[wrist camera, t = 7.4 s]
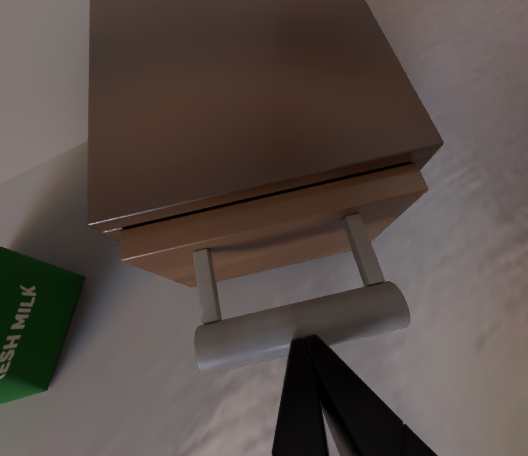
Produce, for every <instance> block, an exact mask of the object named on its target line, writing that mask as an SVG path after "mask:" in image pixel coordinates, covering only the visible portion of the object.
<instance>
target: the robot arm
mask: <svg viewBox="0 0 528 456" xmlns="http://www.w3.org/2000/svg"><path fill="white" fill-rule="evenodd" d="M321 407H322V408H321ZM322 410H323V413H324V416H325V419H326V421H327V424H328V427H329V429H330V432H331V434H332V437H333V439H334V442H335V444H336V447H337V449H338V452H339V454H340V456H438V455H437V454H436V453H435V452H434V451H432V450H431V449H430V448H429V447H428V446H427V445H426V444H425V443H424V442H423V441H422V440H421V439H420V438H419V437H418V436H417V435H416V434H415V433H414V432H413V431H412V430H411V429H410V428H409V427H408V426H407V425H406V424H403V421H402V420H401V419H400V418H399V417H398V416H397V415H396V414H395V413H394V412H393V411H392V410H391V409H390V408H389V407H388V406H387V405H386V404H385V403H384V402H383V401H382V400H381V399H380V398H379V397H378V396H377V395H376V394H375V393H374V392H373V391H372V390H371V389H370V388H369V387H368V386H367V385H366V384H365V383H364V382H363V381H362V380H361V379H360V378H359V377H358V376H357V375H356V374H355V373H354V372H353V371H352V370H351V369H350V368H349V367H348V366H347V365H346V364H345V362H344V361H343V360H342V359H341V358H340V357H339V356H338V355H337V354H336V353H335V352H334V351H333V350H332V349H331V348H330V347H329V346H328V345H327V344H326V343H325V342H324V341H323V340H322V339H321V338H320V337H319V336H318V335H316V334H312V335H308V336H305V337H304V338H303V337H300V338H295V339H292V340H291V343H290V349H289V354H288V360H287V366H286V372H285V378H284V384H283V389H282V395H281V401H280V407H279V413H278V419H277V425H276V430H275V436H274V442H273V448H272V456H330V455H329V448H328V442H327V436H326V430H325V424H324V419H323V413H322Z"/></svg>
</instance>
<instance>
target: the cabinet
mask: <svg viewBox="0 0 528 456" xmlns="http://www.w3.org/2000/svg"><path fill="white" fill-rule="evenodd" d="M88 104H89V105H88V177H87V225H88V226H90V227H92V228H94V229H96V230H98V231H100V232H102V233H103V234H105V235H107V236H109V237H112V238H114V239H116V240H118V241H120V231H121V230H125V229H129V228H134V227H138V226H142V225H147V224H151V223H155V222H160V221H164V219H163V218H164V217H169V216H173V215H177V214H182V213H186V212H191V211H195V210H199V209H204V208H208V207H212V206H217V205H221V204H225V203H230V202H234V201H238V200H243V199H247V198H252V197H256V196H260V195H265V194H269V193H273V192H278V191H282V190H286V189H291V188H295V187H300V186H304V185H308V184H313V183H317V182H321V181H326V180H330V179H334V178H339V177H343V176H347V175H352V174H356V173H361V172H365V171H366V172H365V174H369V173H373V172H378V171H382V170H386V169H391V168H395V167H400V166H404V165H408V164H413V163H416V164H417V166H418V168H419V170H421V169H422V168H423V166H424V165H425V164H426V163H427V162H428V161H429V160H430V159H431V158H432V156H433V155H434V154H435V153H436V152H437V151H438V149H439V148H440V147H441V146H442V145H443V144H444V142H443V140H442V138H441V136H440V135H439V133H438V131H437V129H436V127H435V126H434V124H433V122H432V120H431V118H430V117H429V115H428V113H427V111H426V109H425V108H424V106H423V104H422V102H421V100H420V99H419V97H418V95H417V93H416V91H415V89H414V88H413V86H412V84H411V82H410V80H409V79H408V77H407V75H406V73H405V71H404V70H403V68H402V66H401V64H400V62H399V61H398V59H397V57H396V55H395V53H394V52H393V50H392V48H391V46H390V44H389V43H388V41H387V39H386V37H385V35H384V34H383V32H382V30H381V28H380V26H379V25H378V23H377V21H376V19H375V17H374V16H373V14H372V12H371V10H370V8H369V7H368V5H367V3H366V1H365V0H90V29H89V103H88ZM365 174H364V175H365Z"/></svg>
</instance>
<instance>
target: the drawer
mask: <svg viewBox="0 0 528 456" xmlns="http://www.w3.org/2000/svg"><path fill="white" fill-rule="evenodd" d="M365 172H366V171H365ZM365 172H361V173H356V174H352V175H347V176H343V177H339V178H334V179H330V180H326V181H321V182H317V183H313V184H308V185H304V186H300V187H295V188H291V189H286V190H282V191H278V192H273V193H269V194H265V195H260V196H256V197H252V198H247V199H243V200H238V201H234V202H230V203H225V204H221V205H217V206H212V207H208V208H204V209H199V210H195V211H191V212H186V213H182V214H177V215H173V216H169V217H164V218H163V219H164V221H160V222H155V223H151V224H147V225H142V226H138V227H134V228H129V229H125V230H121V231H120V259H121V261H123V262H125V263H128V264H131V265H133V266H136V267H139V268H141V269H144V270H147V271H149V272H152V273H155V274H157V275H160V276H162V277H165V278H168V279H170V280H173V281H176V282H178V283H181V284H184V285H186V286H189V287H196V286H197V288H198V295H199V303H200V311H201V318H202V323H203V324H204V325H200V326H198V327H197V329H196V332H195V342H194V344H195V355H196V360H197V364H198V367H199V370H200V372H201V373H202V374H203V375H209V374H213V373H217V372H221V371H225V370H230V369H234V368H238V367H242V366H247V365H251V364H255V363H259V362H263V361H268V360H272V359H276V358H280V357H284V356H288V354H289V349H290V343H291V340H292V339H295V338H300V337H303V338H304V337H305V336H308V335H312V334H316V335H318V336H319V337H320V338H321V339H322V340H323V341H324V342H325V343H326V344H327V345H328V346H331V345H335V344H339V343H344V342H348V341H352V340H356V339H360V338H365V337H369V336H373V335H377V334H382V333H386V332H390V331H394V330H398V329H403V328H406V327H408V325H409V323H410V314H409V309H408V306H407V303H406V301H405V298H404V296H403V294H402V293H401V291H400V290H399V288H398V287H397V286H396V285H395V284H394V283H392V282H389V281H387V282H384V281H385V279H384V277H383V274H382V271H381V269H380V266H379V263H378V261H377V258H376V255H375V253H374V250H373V248H372V245H371V241H372V240H373V239H375V238H376V237H377V236H378V235H379V234H380V233H381V232H382V231H383V230H385V229H386V228H387V227H388V226H389V225H390V224H391V223H392V222H393V221H394V220H396V219H397V218H398V217H399V216H400V215H401V214H402V213H403V212H404V211H406V210H407V209H408V208H409V207H410V206H411V205H412V204H413V203H414V202H415V201H417V200H418V199H419V198H420V197H421V196H422V195H423V194H424V193H425V192H427V191H428V187H427V185H426V183H425V181H424V179H423V177H422V175H421V172H420V170H419V168H418V166H417V164H416V163H413V164H408V165H404V166H400V167H395V168H391V169H386V170H382V171H378V172H373V173H369V174H365ZM364 174H365V175H364ZM350 250H352V252H353V254H354V257H355V260H356V263H357V266H358V269H359V272H360V275H361V277H362V280H363V283H364V286H365V287H362V288H357V289H353V290H349V291H345V292H340V293H336V294H332V295H328V296H323V297H319V298H315V299H311V300H306V301H302V302H298V303H294V304H289V305H285V306H281V307H277V308H272V309H268V310H264V311H259V312H255V313H251V314H247V315H242V316H238V317H234V318H230V319H225V320H221V319H222V318H221V312H220V306H219V299H218V293H217V286H216V282H217V281H221V280H226V279H230V278H234V277H239V276H243V275H247V274H251V273H256V272H260V271H264V270H269V269H273V268H277V267H282V266H286V265H290V264H294V263H299V262H303V261H307V260H312V259H316V258H320V257H324V256H329V255H333V254H337V253H342V252H346V251H350ZM382 282H383V283H382Z"/></svg>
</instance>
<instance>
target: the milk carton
mask: <svg viewBox="0 0 528 456" xmlns="http://www.w3.org/2000/svg"><path fill="white" fill-rule="evenodd" d="M84 278H85V277H84V276H81V275H78V274H75V273H73V272H70V271H67V270H64V269H62V268H59V267H56V266H53V265H50V264H48V263H45V262H42V261H39V260H36V259H34V258H31V257H28V256H25V255H22V254H20V253H17V252H14V251H11V250H9V249H6V248H3V247H0V404H3V403H6V402H9V401H13V400H16V399H19V398H23V397H26V396H30V395H33V394H37V393H40V392H44V391H47V389H48V386H49V383H50V380H51V377H52V374H53V371H54V368H55V365H56V362H57V359H58V356H59V353H60V350H61V347H62V344H63V341H64V338H65V335H66V332H67V329H68V326H69V323H70V320H71V317H72V314H73V311H74V308H75V305H76V302H77V299H78V296H79V293H80V290H81V287H82V284H83V281H84Z"/></svg>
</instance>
